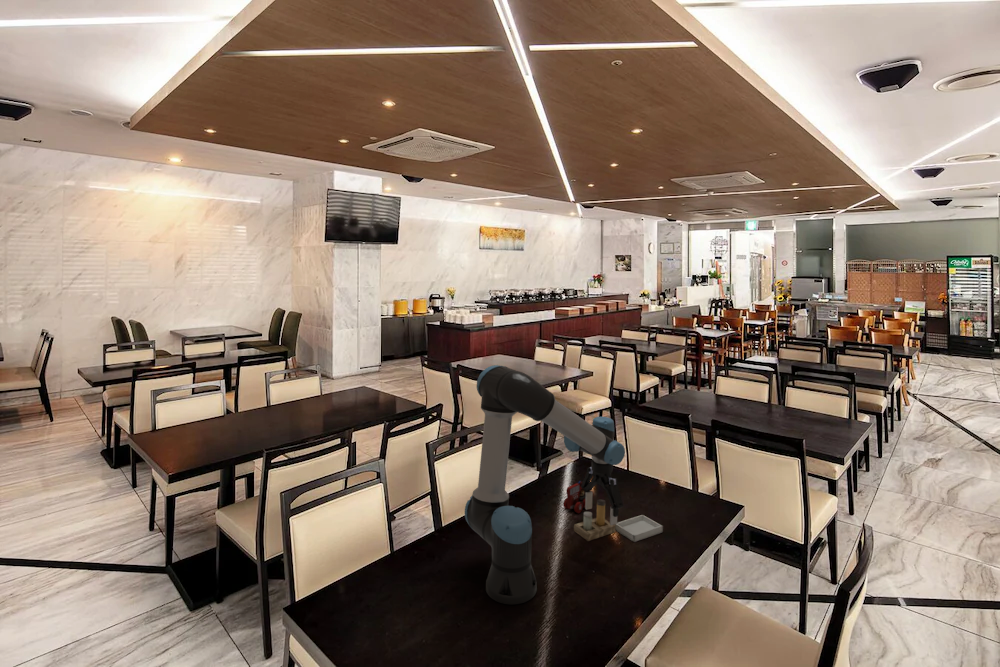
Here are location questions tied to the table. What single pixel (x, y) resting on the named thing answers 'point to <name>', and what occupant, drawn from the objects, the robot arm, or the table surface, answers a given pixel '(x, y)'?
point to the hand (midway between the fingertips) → (600, 516)
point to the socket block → (594, 530)
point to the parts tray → (638, 528)
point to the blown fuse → (600, 513)
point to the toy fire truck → (575, 498)
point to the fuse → (587, 521)
